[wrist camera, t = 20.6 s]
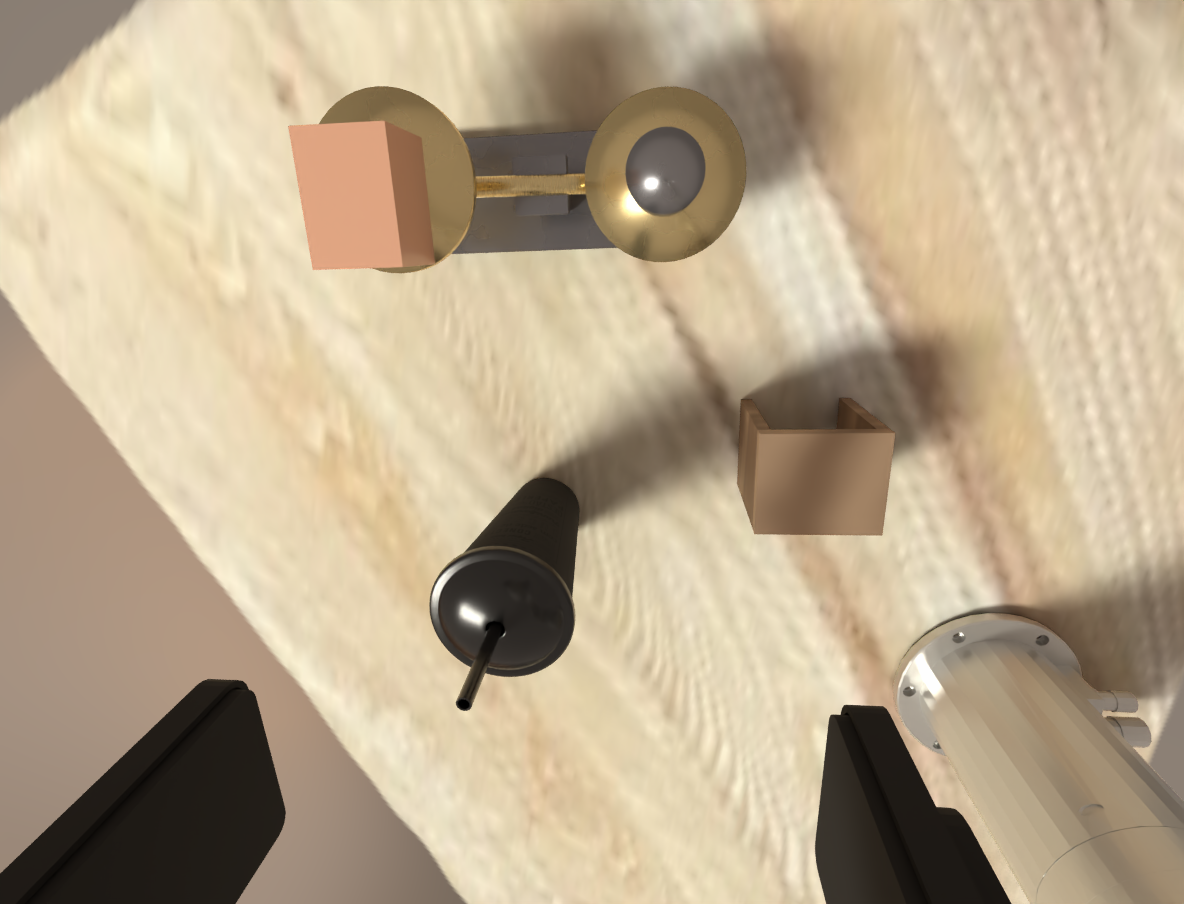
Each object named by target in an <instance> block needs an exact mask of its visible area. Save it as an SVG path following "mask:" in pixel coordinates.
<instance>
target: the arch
mask: <svg viewBox="0 0 1184 904" xmlns="http://www.w3.org/2000/svg"><path fill="white" fill-rule="evenodd" d="M894 440H895V432H893V431H892V430H891V429H889V428H888V427H887V426H886V425H884V424H883V423H882V422H880V421H879V420H878V419H877V418H875V417H874V416H873V415H872V414H870V413H869V412H868V411H866V410H865V409H864V408H863V407H861V406H860V405H859V404H857V403H856V402H855V401H854V400H852V399H851V398H839V407H838V418H837V428H836V429H797V430H770V428H769V426H768V425H767V423H766V422H765V420H764V418H763V417H762V415H761V414H760V412H759V410H758V409H757V407H756V406H755V404H754V402H753V401H752V399H742V400H741V406H740V430H739V454H738V477H737V484H738V487H739V490H740V493H741V496H742V499H743V502H744V505H745V508H746V511H747V514H748V516H749V519H750V522H751V525H752V528H753V531H754V534H790V535H882V533H883V526H884V518H885V510H886V502H887V494H888V487H889V479H890V471H891V463H892V456H893V448H894Z"/></svg>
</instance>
